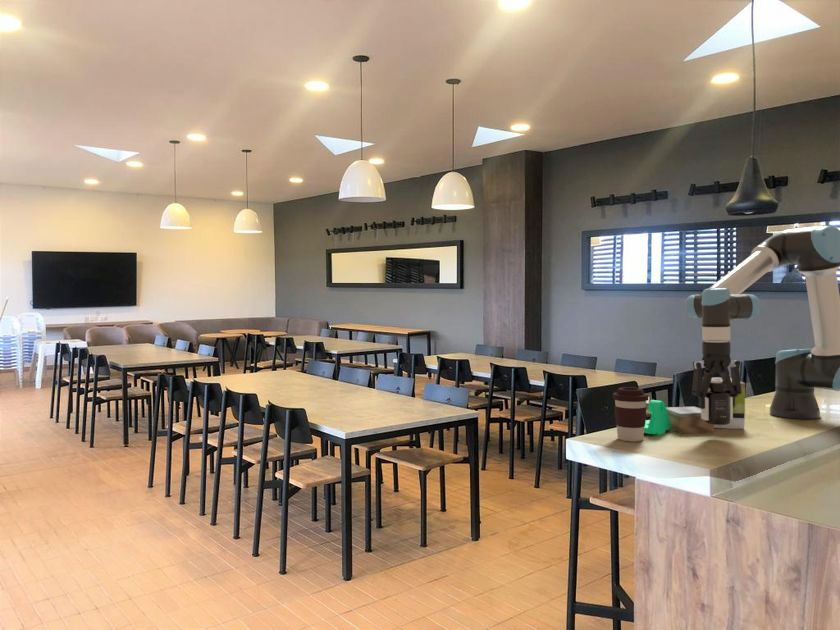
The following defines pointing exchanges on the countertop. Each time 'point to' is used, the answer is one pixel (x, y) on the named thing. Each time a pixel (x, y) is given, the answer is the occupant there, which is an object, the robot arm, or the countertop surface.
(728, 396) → the supplement bottle
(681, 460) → the countertop surface
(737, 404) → the tea box
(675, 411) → the walnut stand
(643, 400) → the coffee cup
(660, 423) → the camera mount
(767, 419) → the countertop surface
